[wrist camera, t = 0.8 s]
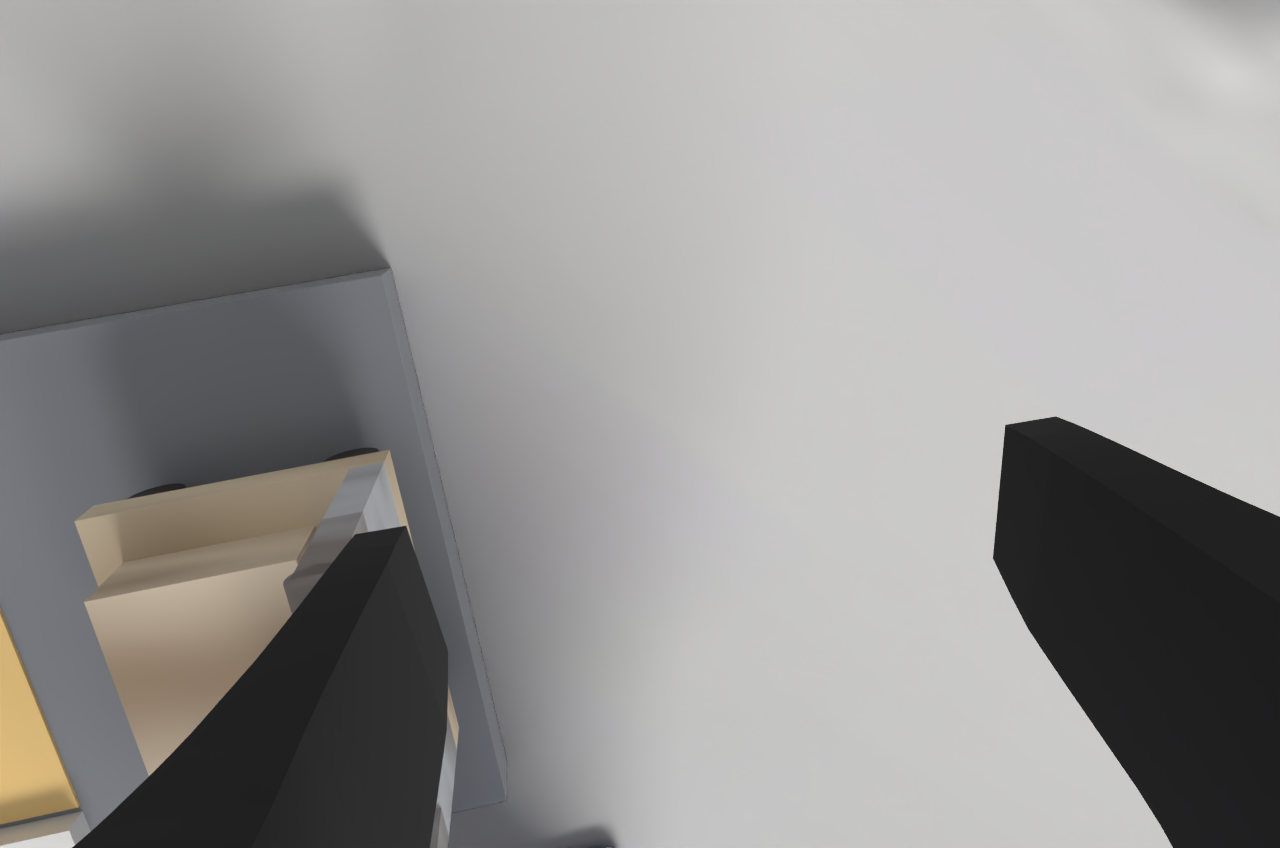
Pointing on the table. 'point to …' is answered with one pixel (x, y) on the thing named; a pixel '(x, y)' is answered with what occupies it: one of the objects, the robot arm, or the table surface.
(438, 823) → the toy vehicle
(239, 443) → the dock
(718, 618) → the table surface
